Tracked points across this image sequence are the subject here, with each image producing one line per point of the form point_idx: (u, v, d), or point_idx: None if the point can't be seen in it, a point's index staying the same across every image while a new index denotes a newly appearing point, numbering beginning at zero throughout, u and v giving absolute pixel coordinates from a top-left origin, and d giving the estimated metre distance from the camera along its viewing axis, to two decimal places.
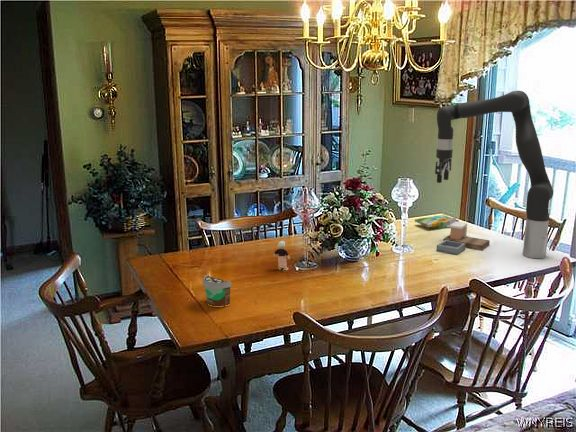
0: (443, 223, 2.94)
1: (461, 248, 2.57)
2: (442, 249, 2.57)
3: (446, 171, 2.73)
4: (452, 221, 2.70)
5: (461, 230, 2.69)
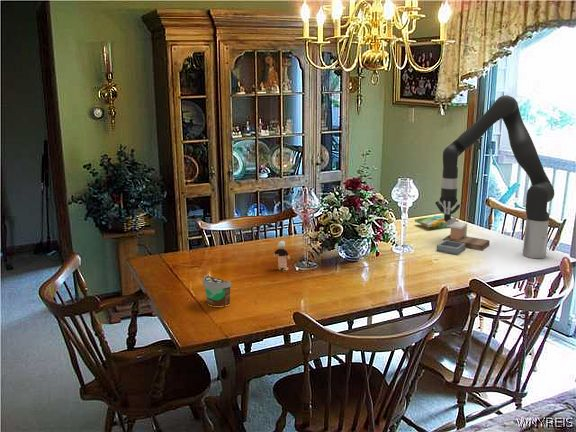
0: (443, 223, 2.94)
1: (461, 248, 2.57)
2: (442, 249, 2.57)
3: (447, 212, 2.71)
4: (452, 221, 2.70)
5: (461, 230, 2.69)
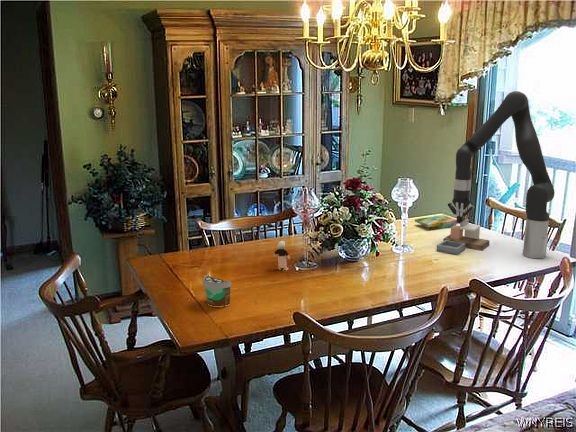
0: (443, 223, 2.94)
1: (461, 248, 2.57)
2: (442, 249, 2.57)
3: None
4: (465, 223, 2.66)
5: (461, 230, 2.69)
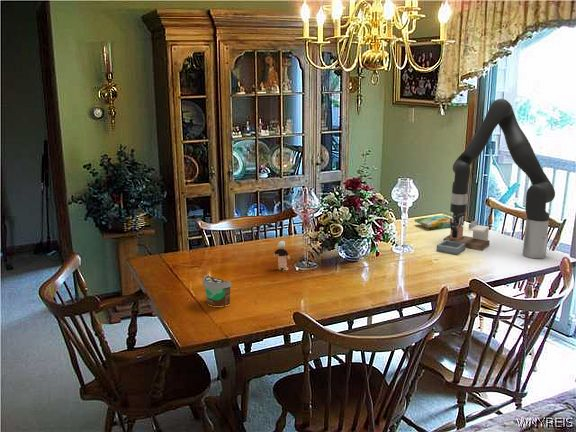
0: (443, 223, 2.94)
1: (461, 248, 2.57)
2: (442, 249, 2.57)
3: None
4: (473, 224, 2.64)
5: (461, 230, 2.69)
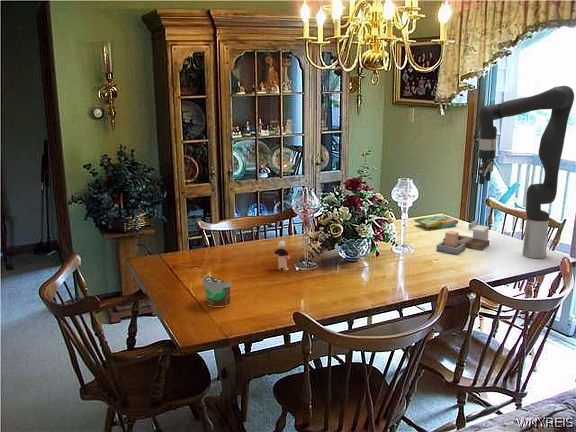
0: (442, 223, 2.94)
1: (461, 248, 2.57)
2: (442, 249, 2.57)
3: None
4: (473, 224, 2.64)
5: (456, 236, 2.57)
